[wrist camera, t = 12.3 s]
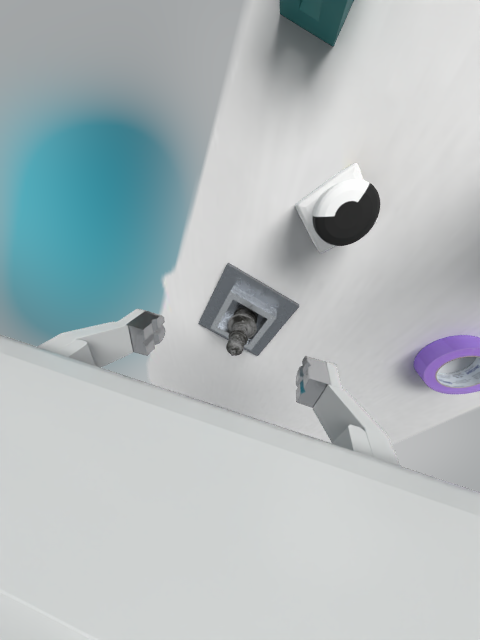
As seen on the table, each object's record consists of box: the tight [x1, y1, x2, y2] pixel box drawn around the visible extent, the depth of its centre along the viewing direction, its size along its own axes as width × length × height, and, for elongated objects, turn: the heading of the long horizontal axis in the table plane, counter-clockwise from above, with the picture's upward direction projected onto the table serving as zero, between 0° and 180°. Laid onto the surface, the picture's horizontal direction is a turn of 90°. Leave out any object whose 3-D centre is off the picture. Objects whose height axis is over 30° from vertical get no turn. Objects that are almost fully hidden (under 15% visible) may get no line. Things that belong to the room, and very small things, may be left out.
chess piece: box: [226, 307, 257, 356], centre depth 36 cm, size 6×6×12 cm
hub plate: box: [198, 263, 299, 356], centre depth 40 cm, size 16×16×4 cm
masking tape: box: [414, 335, 480, 394], centre depth 36 cm, size 12×12×4 cm
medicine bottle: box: [295, 163, 380, 253], centre depth 24 cm, size 7×7×12 cm
